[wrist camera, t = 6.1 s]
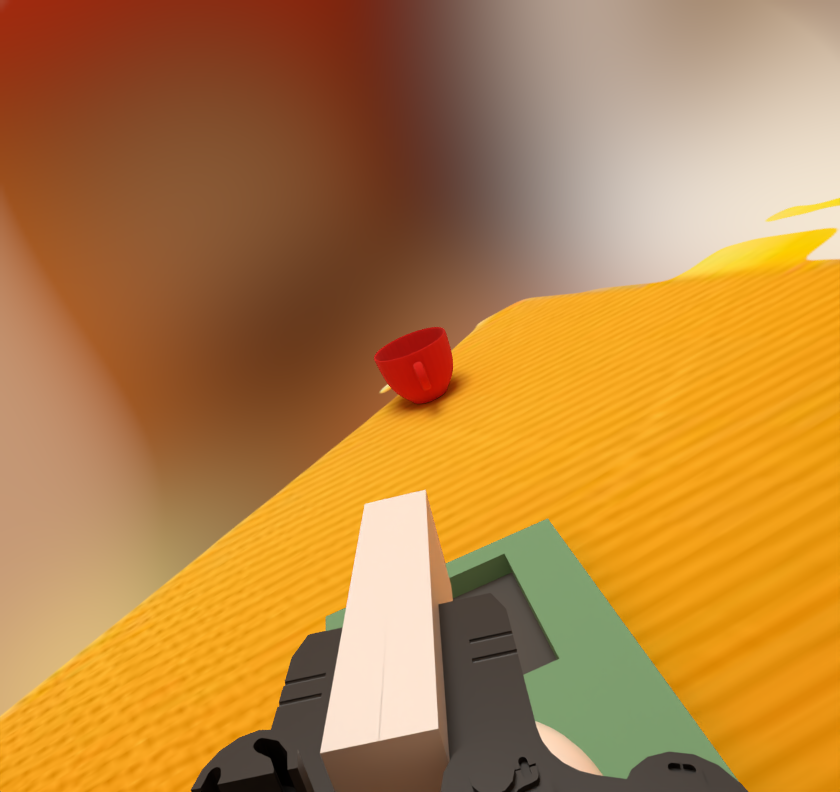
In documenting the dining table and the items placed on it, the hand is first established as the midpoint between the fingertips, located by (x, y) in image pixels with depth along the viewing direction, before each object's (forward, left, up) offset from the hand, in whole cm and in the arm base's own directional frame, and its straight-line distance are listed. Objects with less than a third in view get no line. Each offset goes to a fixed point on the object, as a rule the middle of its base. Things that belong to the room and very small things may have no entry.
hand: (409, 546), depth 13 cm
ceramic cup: (+33, -68, -26) cm, 80 cm away
